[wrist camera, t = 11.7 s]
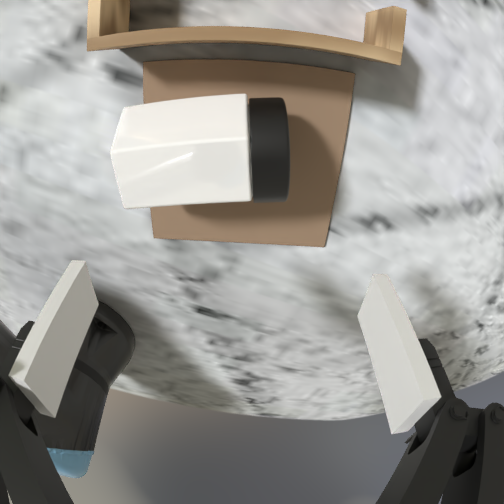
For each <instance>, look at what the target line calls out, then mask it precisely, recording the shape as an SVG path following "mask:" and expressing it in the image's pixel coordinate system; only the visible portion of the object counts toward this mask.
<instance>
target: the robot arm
mask: <svg viewBox="0 0 504 504" xmlns="http://www.w3.org/2000/svg"><path fill="white" fill-rule="evenodd" d="M357 317H358V320H359V323H360V326H361V329H362V333H363V336H364V339H365V342H366V345H367V348H368V352H369V355H370V358H371V362H372V365H373V368H374V372H375V375H376V379H377V382H378V386H379V389H380V393H381V396H382V400H383V404H384V407H385V411H386V415H387V419H388V423H389V427H390V430H391V434H396V433H401V432H407V431H409V430H410V429H411V427H413V426H414V425H415V428H416V432H415V433H414V434H413V435H412V436H411V437H409V438H408V439H407V441H406V442H405V443H408V442H410V443H409V445H408V447H407V449H406V451H405V453H404V455H403V457H402V459H401V461H400V463H399V464H398V466H397V468H396V470H395V472H394V474H393V475H392V477H391V479H390V481H389V482H388V484H387V486H386V487H385V489H384V491H383V493H382V494H381V496H380V498H379V499H378V501H377V502H376V504H438V503H439V501H440V498H441V496H442V494H443V496H442V501H441V504H504V407H503V406H502V405H501V404H498V403H491V404H490V405H488V406H487V407H486V408H485V409H478V408H470V407H468V405H467V404H466V403H465V402H464V401H463V400H461V399H458V398H456V397H455V395H454V392H453V390H452V387H451V385H450V382H449V380H448V377H447V375H446V373H445V370H444V368H443V367H442V363H441V361H440V359H439V356H438V354H437V352H436V350H435V347H434V346H433V345H432V344H431V343H430V342H429V341H428V340H427V339H418V338H417V336H416V333H415V331H414V329H413V327H412V324H411V322H410V320H409V318H408V316H407V313H406V311H405V309H404V307H403V305H402V303H401V301H400V299H399V297H398V295H397V292H396V290H395V288H394V286H393V284H392V282H391V280H390V278H389V276H388V274H373V275H372V278H371V281H370V284H369V287H368V289H367V292H366V295H365V297H364V300H363V303H362V305H361V308H360V310H359V313H358V316H357ZM134 346H135V339H134V335H133V333H132V331H131V329H130V327H129V326H128V324H127V323H126V322H125V321H124V320H123V319H122V317H120V316H119V315H118V314H117V313H116V312H115V311H114V310H112V309H111V308H109V307H108V306H106V305H105V304H103V303H101V302H99V301H98V300H97V297H96V294H95V291H94V288H93V285H92V281H91V278H90V275H89V271H88V268H87V264H86V261H75V260H72V261H71V263H70V264H69V266H68V267H67V269H66V270H65V272H64V274H63V275H62V277H61V278H60V280H59V282H58V283H57V285H56V287H55V288H54V290H53V292H52V293H51V295H50V297H49V298H48V300H47V302H46V303H45V305H44V307H43V309H42V311H41V312H40V314H39V316H38V318H37V319H36V321H35V322H33V321H28V322H27V323H26V324H25V325H24V326H23V327H22V328H21V330H20V331H19V333H18V335H17V337H16V336H15V335H14V334H13V333H12V332H11V331H10V330H9V329H8V328H7V327H6V326H5V324H4V323H3V322H2V321H1V320H0V504H10V503H9V498H8V493H9V495H10V498H11V500H12V503H13V504H74V503H73V501H72V499H71V498H70V496H69V494H68V492H67V490H66V488H65V486H64V484H63V482H62V481H61V478H60V476H59V475H62V476H66V477H71V478H80V477H82V476H84V475H85V474H86V472H87V470H88V466H89V464H90V460H91V457H92V455H93V454H94V447H95V443H96V438H97V434H98V430H99V426H100V422H101V418H102V414H103V410H104V406H105V402H106V398H107V395H108V391H109V388H110V386H111V385H112V384H113V382H114V381H115V380H116V378H117V377H118V376H119V374H120V373H121V372H122V371H123V369H124V368H125V367H126V365H127V364H128V363H129V361H130V359H131V357H132V353H133V350H134ZM7 490H8V493H7Z"/></svg>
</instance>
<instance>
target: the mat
mask: <svg viewBox="0 0 504 504" xmlns="http://www.w3.org/2000/svg"><path fill="white" fill-rule="evenodd" d="M354 78H355V73H350V72H345V71H339V70H333V69H327V68H320V67H313V66H305V65H297V64H288V63H278V62H266V61H251V60H226V59H189V60H164V61H149V62H143V96H144V104H147V103H153V102H160V101H167V100H175V99H183V98H193V97H203V96H214V95H227V94H247V96H248V104H249V98H269V97H281V98H283V99H284V101H285V105H286V109H287V116H288V125H289V137H290V187H289V195H288V199H287V201H285V202H269V203H254V202H253V200H252V201H251V202H237V203H217V204H199V205H183V206H168V207H155V208H150V209H151V218H152V227H153V235H154V238H162V239H182V240H203V241H222V242H241V243H260V244H279V245H297V246H314V247H324V246H325V241H326V237H327V232H328V227H329V223H330V218H331V213H332V208H333V203H334V199H335V193H336V188H337V183H338V178H339V173H340V167H341V162H342V156H343V150H344V145H345V139H346V133H347V126H348V120H349V114H350V107H351V100H352V93H353V86H354Z"/></svg>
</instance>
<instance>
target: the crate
mask: <svg viewBox="0 0 504 504" xmlns="http://www.w3.org/2000/svg"><path fill="white" fill-rule="evenodd" d="M406 11H407V10H405V9H402V8H399V7H396V6H391V7H387V8H383V9H379V10H375V11H371V12H367V13H366V21H365V31H364V41H363V43H362V42H357V41H353V40H348V39H343V38H337V37H332V36H326V35H320V34H313V33H306V32H299V31H290V30H281V29H269V28H255V27H232V26H197V27H174V28H160V29H149V30H140V31H132V32H129V16H130V0H89V2H88V23H87V51H97V50H110V49H122V48H130V47H139V46H150V45H163V44H181V43H242V44H260V45H273V46H284V47H293V48H301V49H309V50H316V51H323V52H329V53H335V54H340V55H346V56H351V57H356V58H361V59H365V60H370V61H376V62H382V63H389V64H395V65H401V58H402V50H403V42H404V32H405V22H406Z"/></svg>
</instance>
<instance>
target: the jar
mask: <svg viewBox="0 0 504 504" xmlns="http://www.w3.org/2000/svg"><path fill="white" fill-rule="evenodd" d="M110 156H111V160H112V164H113V168H114V172H115V176H116V180H117V184H118V188H119V192H120V196H121V199H122V203H123V207H124V208H125V209H140V208H155V207H168V206H183V205H199V204H217V203H237V202H251V201H252V200H253V202H254V203H269V202H285V201H287V199H288V195H289V187H290V137H289V125H288V116H287V109H286V105H285V101H284V99H283V98H281V97H269V98H249V104H248V96H247V94H227V95H214V96H203V97H193V98H183V99H175V100H167V101H160V102H153V103H147V104H141V105H135V106H129V107H125V108H124V109H123V111H122V114H121V117H120V120H119V124H118V127H117V130H116V133H115V137H114V140H113V144H112V147H111V151H110Z"/></svg>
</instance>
